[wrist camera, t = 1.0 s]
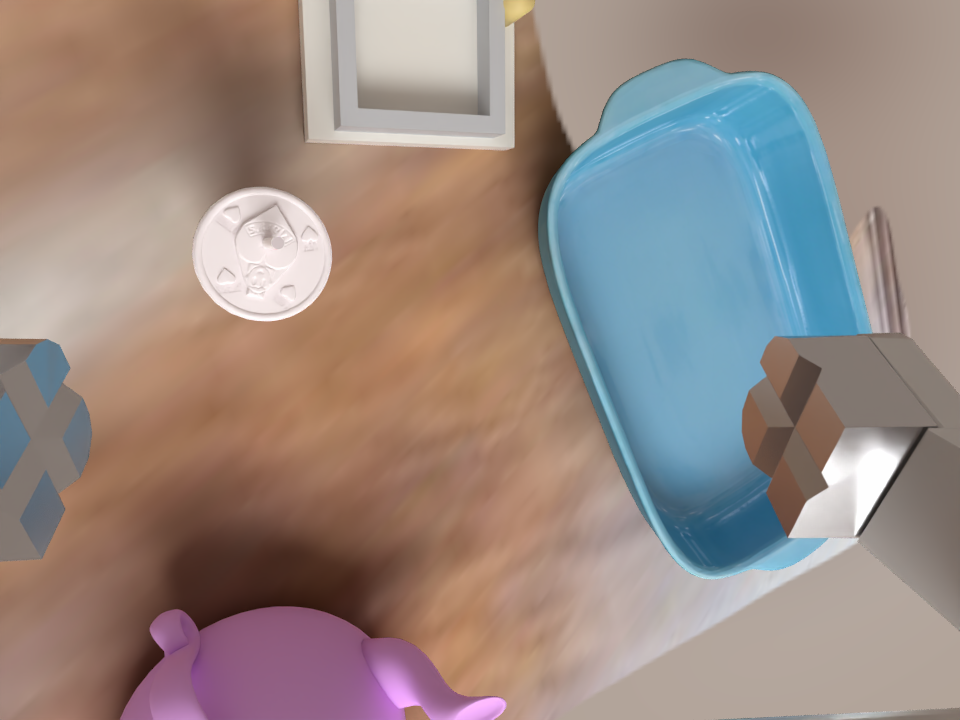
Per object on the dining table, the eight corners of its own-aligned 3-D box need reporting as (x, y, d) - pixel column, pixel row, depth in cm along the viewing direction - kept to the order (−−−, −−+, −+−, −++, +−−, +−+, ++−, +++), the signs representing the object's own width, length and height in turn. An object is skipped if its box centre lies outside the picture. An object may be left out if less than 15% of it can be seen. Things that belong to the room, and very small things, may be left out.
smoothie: (316, 215, 44) (367, 202, 31) (291, 318, 44) (332, 347, 31) (205, 184, 41) (211, 155, 29) (180, 292, 42) (175, 313, 29)
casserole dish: (459, 150, 47) (503, 135, 40) (721, 34, 53) (796, 4, 46) (640, 595, 58) (697, 640, 51) (840, 457, 64) (915, 481, 57)
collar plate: (295, -57, 41) (307, -91, 37) (504, -29, 46) (535, -56, 42) (304, 142, 43) (316, 131, 39) (505, 150, 48) (534, 141, 44)
